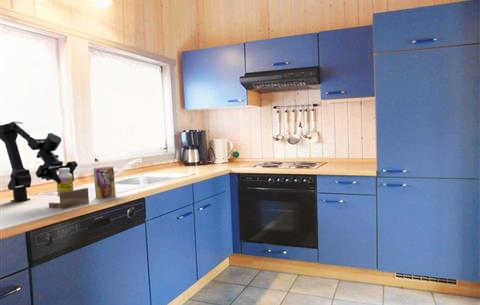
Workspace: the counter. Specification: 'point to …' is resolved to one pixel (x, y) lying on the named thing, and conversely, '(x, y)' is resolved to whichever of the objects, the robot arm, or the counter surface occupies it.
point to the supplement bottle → (64, 181)
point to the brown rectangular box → (71, 199)
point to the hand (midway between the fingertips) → (67, 182)
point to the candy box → (104, 182)
